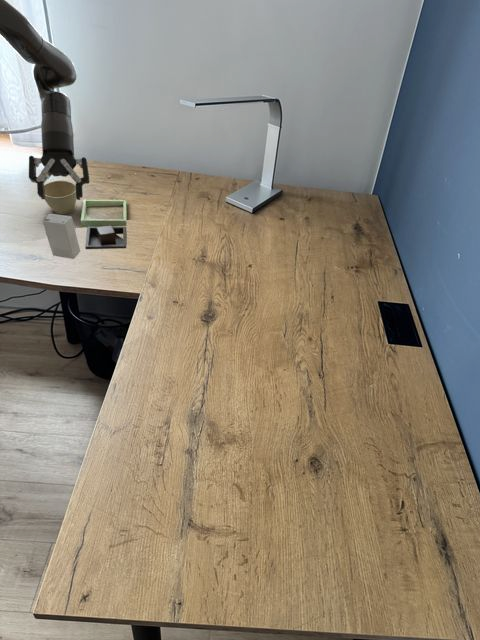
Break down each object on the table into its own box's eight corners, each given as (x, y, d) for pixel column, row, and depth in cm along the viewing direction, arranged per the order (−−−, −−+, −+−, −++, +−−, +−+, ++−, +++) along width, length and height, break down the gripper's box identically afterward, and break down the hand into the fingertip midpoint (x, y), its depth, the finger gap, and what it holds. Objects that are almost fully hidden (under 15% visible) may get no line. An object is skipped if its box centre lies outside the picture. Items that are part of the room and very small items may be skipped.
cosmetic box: (82, 255, 135) (73, 215, 126) (75, 265, 132) (65, 224, 123) (60, 252, 135) (50, 211, 127) (52, 261, 132) (41, 221, 124)
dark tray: (86, 255, 136) (85, 246, 134) (88, 234, 143) (87, 226, 142) (126, 254, 138) (126, 246, 136) (126, 234, 146) (126, 226, 144)
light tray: (81, 228, 145) (80, 220, 144) (84, 207, 154) (83, 199, 152) (126, 228, 148) (126, 220, 146) (126, 207, 157) (126, 200, 155)
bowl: (41, 217, 148) (35, 195, 143) (52, 200, 155) (47, 178, 150) (75, 220, 148) (70, 198, 143) (85, 203, 155) (81, 181, 150)
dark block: (101, 247, 138) (99, 234, 136) (98, 239, 141) (96, 227, 138) (116, 245, 140) (114, 232, 137) (112, 237, 142) (111, 225, 140)
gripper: (23, 128, 123) (27, 193, 123) (84, 130, 126) (88, 194, 126) (31, 141, 131) (34, 203, 130) (88, 143, 134) (91, 203, 133)
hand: (60, 198), depth 128 cm, fingers open, 8 cm apart
